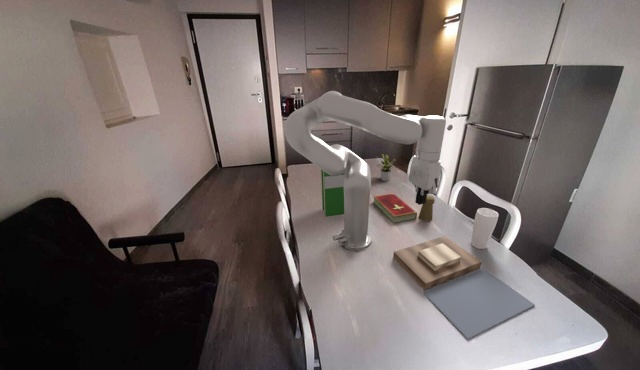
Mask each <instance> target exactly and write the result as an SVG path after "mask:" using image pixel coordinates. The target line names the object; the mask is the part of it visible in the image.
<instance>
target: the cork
mask: <svg viewBox="0 0 640 370" xmlns="http://www.w3.org/2000/svg"><path fill="white" fill-rule="evenodd" d="M435 200H436V199H435V197H434V196H431V195H429V194H427V198H426V203H425V204H421V208H420V211H419V215H418V218H419V219H420V220H421V221H424V222H431V221H432V220H433V217H434V216H433V207H434V204H435V202H436V201H435Z"/></svg>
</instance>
